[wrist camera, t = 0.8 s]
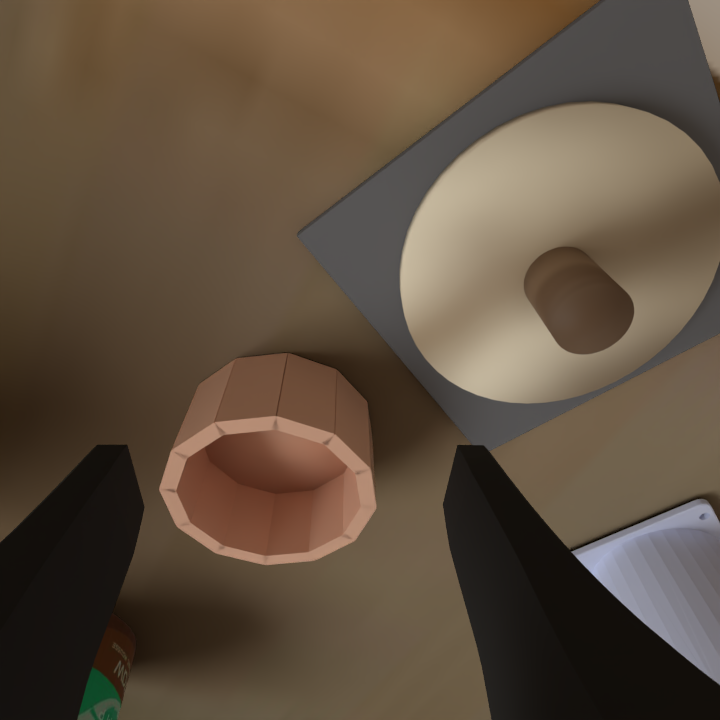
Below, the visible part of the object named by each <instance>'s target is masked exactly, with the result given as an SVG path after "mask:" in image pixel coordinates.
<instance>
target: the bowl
mask: <svg viewBox="0 0 720 720" xmlns="http://www.w3.org/2000/svg"><path fill="white" fill-rule="evenodd" d="M159 491H160V493H161V495H162V497H163V499H164V501H165V503H166V505H167V507H168V509H169V512H170V514H171V516H172V518H173V520H174V522H175V524H176V526H177V527H178V528H179V529H181V530H182V531H184V532H185V533H187V534H188V535H190V536H191V537H193V538H194V539H195V540H197V541H198V542H200V543H201V544H203V545H204V546H206V547H207V548H209V549H210V550H212V551H213V552H215V553H216V554H221V555H225V556H229V557H233V558H237V559H242V560H246V561H250V562H254V563H259V564H263V565H271V564H283V563H294V562H305V561H314V560H317V559H319V558H321V557H323V556H325V555H327V554H329V553H331V552H333V551H335V550H337V549H339V548H341V547H343V546H345V545H347V544H349V543H351V542H353V541H355V540H356V538H357V537H358V535H359V534H360V532H361V531H362V529H363V528H364V526H365V525H366V523H367V522H368V520H369V519H370V517H371V516H372V514H373V513H374V511H375V510H376V508H377V507H376V490H375V474H374V457H373V440H372V432H371V424H370V417H369V410H368V402H367V401H366V400H365V399H364V398H363V397H362V396H361V394H360V393H359V392H358V391H357V390H356V389H355V388H354V387H353V386H352V385H351V384H350V383H349V382H348V381H347V380H346V378H345V377H344V376H343V375H342V374H341V373H340V372H339V371H338V370H337V369H334V368H331V367H328V366H325V365H323V364H320V363H317V362H314V361H311V360H308V359H305V358H302V357H299V356H296V355H293V354H290V353H280V354H271V355H261V356H252V357H243V358H236V359H234V360H233V361H231V362H230V363H228V364H227V365H226V366H224V367H223V368H221V369H220V370H218V371H217V372H216V373H214V374H213V375H211V376H210V377H208V378H207V379H206V380H204V381H203V382H201V383H200V384H199V385H198V388H197V390H196V392H195V395H194V397H193V400H192V402H191V404H190V407H189V409H188V411H187V414H186V416H185V419H184V421H183V423H182V426H181V428H180V431H179V433H178V435H177V438H176V440H175V443H174V445H173V447H172V450H171V453H170V456H169V459H168V462H167V466H166V469H165V472H164V475H163V478H162V482H161V485H160V488H159Z"/></svg>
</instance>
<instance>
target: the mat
mask: <svg viewBox="0 0 720 720" xmlns="http://www.w3.org/2000/svg"><path fill="white" fill-rule="evenodd" d="M586 101H595V102H606V103H615V104H619V105H623V106H627V107H631V108H635V109H638V110H642V111H645V112H649V113H651V114H653V115H655V116H658V117H660V118H662V119H664V120H667V121H669V122H670V123H672V124H673V125H674V126H676V127H677V128H679V129H680V130H682V131H683V132H685V133H686V134H687V135H688V136H689V137H690V138H691V139H692V140H693V141H694V142H695V143H696V144H697V145H698V146H699V147H700V148H701V149H702V151H703V152H704V154H705V155H706V157H707V158H708V160H709V161H710V163H711V164H712V166H713V169H714V171H715V173H716V175H717V178H718V180H719V182H720V102H719V98H718V95H717V92H716V89H715V86H714V82H713V79H712V76H711V73H710V69H709V66H708V63H707V60H706V57H705V53H704V50H703V47H702V44H701V40H700V37H699V34H698V31H697V28H696V25H695V21H694V18H693V15H692V12H691V8H690V5H689V2H688V0H600V1H599V2H598V3H596V4H595V5H594V6H593V7H591V8H590V9H589V10H587V11H586V12H585V13H583V14H582V15H581V16H580V17H578V18H577V19H576V20H574V21H573V22H572V23H570V24H569V25H568V26H566V27H565V28H564V29H563V30H561V31H560V32H559V33H557V34H556V35H555V36H553V37H552V38H551V39H550V40H548V41H547V42H546V43H544V44H543V45H542V46H540V47H539V48H538V49H536V50H535V51H534V52H533V53H531V54H530V55H529V56H527V57H526V58H525V59H523V60H522V61H521V62H519V63H518V64H517V65H516V66H514V67H513V68H512V69H510V70H509V71H508V72H506V73H505V74H504V75H503V76H501V77H500V78H499V79H497V80H496V81H495V82H493V83H492V84H491V85H489V86H488V87H487V88H486V89H484V90H483V91H482V92H480V93H479V94H478V95H476V96H475V97H474V98H473V99H471V100H470V101H469V102H467V103H466V104H465V105H463V106H462V107H461V108H459V109H458V110H457V111H456V112H454V113H453V114H452V115H450V116H449V117H448V118H446V119H445V120H444V121H442V122H441V123H440V124H439V125H437V126H436V127H435V128H433V129H432V130H431V131H429V132H428V133H427V134H426V135H424V136H423V137H422V138H420V139H419V140H418V141H416V142H415V143H414V144H412V145H411V146H410V147H409V148H407V149H406V150H405V151H403V152H402V153H401V154H399V155H398V156H397V157H396V158H394V159H393V160H392V161H390V162H389V163H388V164H386V165H385V166H384V167H382V168H381V169H380V170H379V171H377V172H376V173H375V174H373V175H372V176H371V177H369V178H368V179H367V180H366V181H364V182H363V183H362V184H360V185H359V186H358V187H356V188H355V189H354V190H352V191H351V192H350V193H349V194H347V195H346V196H345V197H343V198H342V199H341V200H339V201H338V202H337V203H335V204H334V205H333V206H332V207H330V208H329V209H328V210H326V211H325V212H324V213H322V214H321V215H320V216H319V217H317V218H316V219H315V220H313V221H312V222H311V223H309V224H308V225H307V226H305V227H304V228H303V229H302V230H300V231H299V232H298V234H297V237H298V238H299V239H300V240H301V242H302V243H303V244H304V245H305V246H306V248H307V249H308V250H309V251H310V252H311V253H312V255H313V256H314V257H315V258H316V259H317V261H318V262H319V263H320V264H321V265H322V267H323V268H324V269H325V270H326V271H327V273H328V274H329V275H330V276H331V277H332V278H333V280H334V281H335V282H336V283H337V284H338V286H339V287H340V288H341V289H342V290H343V292H344V293H345V294H346V295H347V296H348V297H349V299H350V300H351V301H352V302H353V303H354V305H355V306H356V307H357V308H358V309H359V311H360V312H361V313H362V314H363V315H364V317H365V318H366V319H367V320H368V321H369V322H370V324H371V325H372V326H373V327H374V328H375V330H376V331H377V332H378V333H379V334H380V336H381V337H382V338H383V339H384V340H385V341H386V343H387V344H388V345H389V346H390V347H391V349H392V350H393V351H394V352H395V353H396V355H397V356H398V357H399V358H400V359H401V360H402V362H403V363H404V364H405V365H406V366H407V368H408V369H409V370H410V371H411V372H412V374H413V375H414V376H415V377H416V378H417V380H418V381H419V382H420V383H421V384H422V385H423V387H424V388H425V389H426V390H427V391H428V393H429V394H430V395H431V396H432V397H433V399H434V400H435V401H436V402H437V403H438V404H439V406H440V407H441V408H442V409H443V410H444V412H445V413H446V414H447V415H448V416H449V418H450V419H451V420H452V421H453V422H454V424H455V425H456V426H457V427H458V428H459V429H460V431H461V432H462V433H463V434H464V435H465V437H466V438H467V439H468V440H469V441H470V443H471V444H472V445H484V446H485V447H486V448H487V449H488V451H490V450H492V449H494V448H496V447H498V446H500V445H502V444H504V443H506V442H508V441H510V440H512V439H514V438H516V437H518V436H520V435H522V434H524V433H526V432H528V431H530V430H532V429H534V428H535V427H537V426H539V425H541V424H543V423H545V422H547V421H549V420H551V419H553V418H555V417H557V416H559V415H561V414H563V413H565V412H567V411H569V410H571V409H573V408H575V407H577V406H579V405H580V404H582V403H584V402H586V401H588V400H590V399H592V398H594V397H596V396H598V395H600V394H602V393H604V392H606V391H608V390H610V389H612V388H614V387H616V386H618V385H620V384H622V383H624V382H625V381H627V380H629V379H631V378H633V377H635V376H637V375H639V374H641V373H643V372H645V371H647V370H649V369H651V368H653V367H655V366H657V365H659V364H661V363H663V362H665V361H667V360H669V359H670V358H672V357H674V356H676V355H678V354H680V353H682V352H684V351H686V350H688V349H690V348H692V347H694V346H696V345H698V344H700V343H702V342H704V341H706V340H708V339H710V338H712V337H714V336H715V335H717V334H719V333H720V262H719V265H718V268H717V270H716V273H715V276H714V279H713V281H712V283H711V285H710V287H709V289H708V291H707V293H706V295H705V297H704V299H703V301H702V302H701V304H700V305H699V307H698V308H697V310H696V312H695V313H694V315H693V316H692V317H691V319H690V320H689V321H688V322H687V324H686V325H685V326H684V327H683V329H682V330H681V331H680V332H679V333H678V334H677V335H676V336H675V337H674V338H673V339H672V340H671V341H670V343H669V344H668V345H667V346H666V347H664V348H663V349H662V350H661V351H660V352H659V353H657V354H656V355H655V356H654V357H653V358H651V359H650V360H649V361H648V362H646V363H645V364H643V365H642V366H640V367H639V368H638V369H636V370H635V371H633V372H631V373H630V374H628V375H626V376H624V377H623V378H621V379H619V380H617V381H616V382H613V383H611V384H609V385H607V386H605V387H602V388H600V389H598V390H595V391H592V392H589V393H586V394H584V395H581V396H577V397H573V398H569V399H565V400H560V401H553V402H546V403H529V404H526V403H509V402H503V401H497V400H492V399H489V398H485V397H482V396H478V395H476V394H473V393H471V392H469V391H466V390H464V389H462V388H460V387H459V386H457V385H455V384H454V383H452V382H450V381H449V380H447V379H446V378H445V377H444V376H442V375H441V374H440V373H439V372H437V371H436V370H435V369H434V368H433V367H432V365H431V364H430V363H429V362H428V361H427V360H426V359H425V358H424V356H423V355H422V353H421V352H420V350H419V349H418V347H417V346H416V344H415V342H414V340H413V338H412V336H411V334H410V332H409V329H408V325H407V322H406V319H405V316H404V311H403V306H402V300H401V293H400V262H401V254H402V249H403V245H404V241H405V238H406V234H407V231H408V228H409V226H410V223H411V221H412V219H413V216H414V214H415V211H416V210H417V208H418V206H419V204H420V203H421V201H422V199H423V197H424V196H425V194H426V192H427V191H428V189H429V188H430V187H431V185H432V184H433V183H434V181H435V180H436V179H437V177H438V176H439V175H440V173H441V172H442V171H443V170H444V169H445V168H446V167H447V166H448V165H449V164H450V163H451V162H452V161H453V160H454V159H455V157H456V156H457V155H459V154H460V153H461V152H462V151H463V150H465V149H466V148H467V147H468V146H469V145H471V144H472V143H473V142H474V141H475V140H477V139H478V138H480V137H481V136H483V135H485V134H486V133H488V132H489V131H491V130H492V129H494V128H495V127H497V126H499V125H501V124H503V123H505V122H507V121H509V120H511V119H513V118H515V117H517V116H519V115H522V114H525V113H528V112H531V111H534V110H537V109H540V108H543V107H548V106H553V105H558V104H563V103H568V102H586Z"/></svg>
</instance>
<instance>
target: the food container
mask: <svg viewBox="0 0 720 720" xmlns="http://www.w3.org/2000/svg"><path fill="white" fill-rule="evenodd" d="M135 651H136V638H135V635H134V633H133V632H132V630H131V628H130V627H129V626H128V625H127V624H126V623H125V622H124V621H123V620H121V619H120V618H119V617H117V616H116V615H114V614H113V613H112V614H111V617H110V620H109V622H108V625H107V628H106V631H105V633H104V636H103V639H102V641H101V644H100V647H99V650H98V652H97V655H96V658H95V661H94V664H93V667H92V670H91V673H90V676H89V679H88V682H87V685H86V689H85V693H84V697H83V700H82V704H81V708H80V711H79V715H78V719H77V720H117V719H118V715H119V712H120V708H121V704H122V700H123V697H124V693H125V689H126V685H127V682H128V678H129V674H130V670H131V667H132V663H133V659H134V655H135Z"/></svg>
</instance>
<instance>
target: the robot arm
mask: <svg viewBox="0 0 720 720" xmlns="http://www.w3.org/2000/svg"><path fill="white" fill-rule="evenodd" d="M443 508H444V515H445V522H446V528H447V534H448V540H449V546H450V551H451V554H452V558H453V562H454V565H455V569H456V573H457V576H458V580H459V584H460V587H461V591H462V594H463V598H464V601H465V605H466V609H467V612H468V616H469V619H470V623H471V626H472V630H473V634H474V637H475V641H476V644H477V648H478V653H479V657H480V661H481V665H482V670H483V675H484V680H485V686H486V691H487V697H488V702H489V708H490V713H491V719H492V720H720V522H719V520H718V518H717V516H716V514H715V512H714V510H713V508H712V507H711V505H710V504H709V503H708V501H707V500H705V499H697V500H694V501H691V502H689V503H687V504H684V505H682V506H679V507H677V508H675V509H672V510H670V511H667V512H665V513H663V514H660V515H658V516H655V517H653V518H651V519H648V520H646V521H643V522H641V523H639V524H636V525H634V526H631V527H629V528H627V529H624V530H622V531H619V532H617V533H615V534H612V535H610V536H607V537H605V538H603V539H600V540H598V541H595V542H593V543H591V544H588V545H586V546H583V547H581V548H579V549H576V550H574V551H570V550H569V549H568V548H567V547H566V546H565V545H564V543H563V542H562V541H561V540H560V539H559V538H558V537H557V535H556V534H555V533H554V532H553V531H552V530H551V529H550V527H549V526H548V525H547V524H546V523H545V521H544V520H543V519H542V518H541V517H540V515H539V514H538V513H537V512H536V511H535V510H534V508H533V507H532V506H531V505H530V503H529V502H528V501H527V500H526V499H525V497H524V496H523V495H522V494H521V492H520V491H519V490H518V488H517V487H516V486H515V485H514V483H513V482H512V481H511V479H510V478H509V477H508V476H507V474H506V473H505V472H504V470H503V469H502V468H501V466H500V465H499V464H498V462H497V461H496V460H495V458H494V457H493V456H492V454H491V453H490V452H489V451H488V449H487V448H486V447H485V446H484V445H457V449H456V453H455V457H454V462H453V466H452V470H451V474H450V478H449V482H448V486H447V490H446V494H445V498H444V502H443ZM143 512H144V504H143V500H142V496H141V493H140V489H139V486H138V482H137V478H136V475H135V471H134V467H133V464H132V460H131V457H130V453H129V449H128V446H127V445H97V446H96V447H95V448H93V449H92V450H91V452H90V453H89V454H88V455H87V456H86V457H85V458H84V459H83V460H82V461H81V462H80V463H79V464H78V465H77V466H76V467H75V468H74V469H73V470H72V471H71V472H70V473H69V474H68V475H67V477H66V478H65V479H64V480H63V481H62V482H61V483H60V484H59V485H58V486H57V487H56V488H55V489H54V490H53V491H52V492H51V493H50V494H49V495H48V496H47V497H46V498H45V499H44V500H43V501H42V502H41V503H40V504H39V505H38V506H37V507H36V508H35V509H34V510H33V511H32V512H31V513H30V514H29V515H28V516H27V517H26V518H25V519H24V520H23V521H22V522H21V523H20V524H19V525H18V526H17V527H16V528H15V529H14V530H13V531H12V532H11V533H10V534H9V535H8V536H7V537H6V538H5V539H4V540H3V541H1V542H0V720H77V719H78V715H79V711H80V708H81V704H82V700H83V697H84V693H85V689H86V685H87V682H88V679H89V676H90V673H91V670H92V667H93V664H94V661H95V658H96V655H97V652H98V650H99V647H100V644H101V641H102V639H103V636H104V633H105V631H106V628H107V625H108V622H109V620H110V617H111V614H112V612H113V609H114V606H115V604H116V601H117V598H118V595H119V593H120V590H121V587H122V585H123V582H124V579H125V576H126V573H127V571H128V568H129V565H130V562H131V559H132V557H133V554H134V550H135V546H136V542H137V538H138V534H139V530H140V525H141V521H142V516H143Z"/></svg>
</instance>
